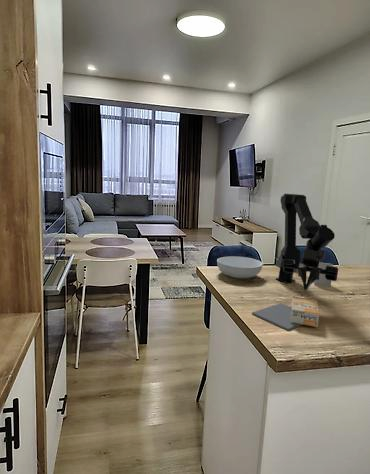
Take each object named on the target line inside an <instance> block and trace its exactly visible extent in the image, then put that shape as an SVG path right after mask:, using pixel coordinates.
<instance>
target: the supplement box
mask: <svg viewBox="0 0 370 474" xmlns="http://www.w3.org/2000/svg"><path fill="white" fill-rule="evenodd" d="M290 307H291V321H290V322H291V323H296V324H301V325H300V326H302V325H303V326H308V327H312V328H313V327H314V328H318V327H319V319H320V310H319V305H318V300H317V299H313V298H306V297H300V296H294V295H292V298H291V305H290Z"/></svg>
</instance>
